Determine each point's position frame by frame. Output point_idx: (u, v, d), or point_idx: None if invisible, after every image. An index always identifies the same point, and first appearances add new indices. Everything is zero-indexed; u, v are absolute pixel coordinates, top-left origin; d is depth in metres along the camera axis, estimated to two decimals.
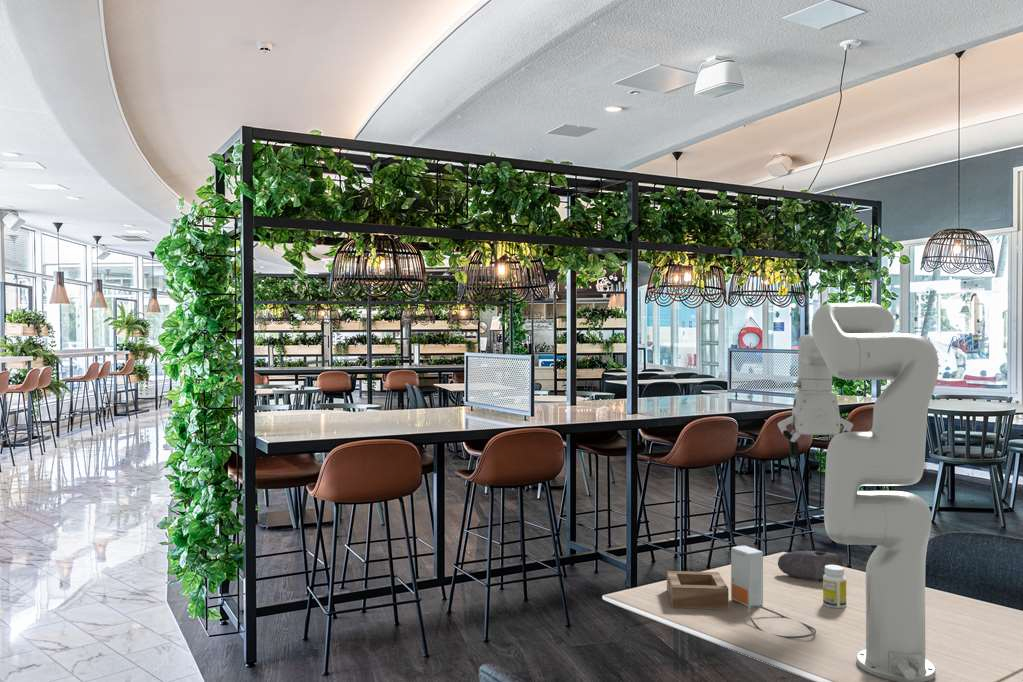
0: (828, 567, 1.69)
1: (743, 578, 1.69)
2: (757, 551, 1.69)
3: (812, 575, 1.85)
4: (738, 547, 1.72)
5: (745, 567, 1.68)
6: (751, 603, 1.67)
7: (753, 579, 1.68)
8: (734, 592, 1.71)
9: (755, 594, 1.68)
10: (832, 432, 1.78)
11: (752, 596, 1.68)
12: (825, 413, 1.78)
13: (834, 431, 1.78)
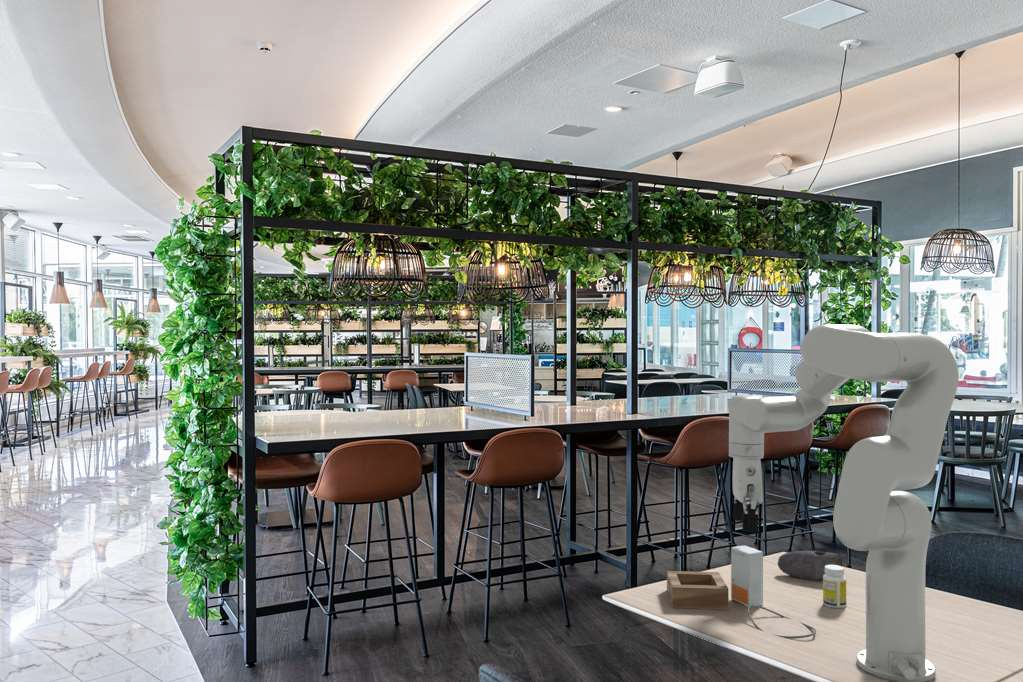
0: (828, 567, 1.69)
1: (743, 578, 1.69)
2: (757, 551, 1.69)
3: (812, 575, 1.85)
4: (738, 547, 1.72)
5: (745, 567, 1.68)
6: (751, 603, 1.67)
7: (753, 579, 1.68)
8: (734, 592, 1.71)
9: (755, 594, 1.68)
10: None
11: (752, 596, 1.68)
12: None
13: None
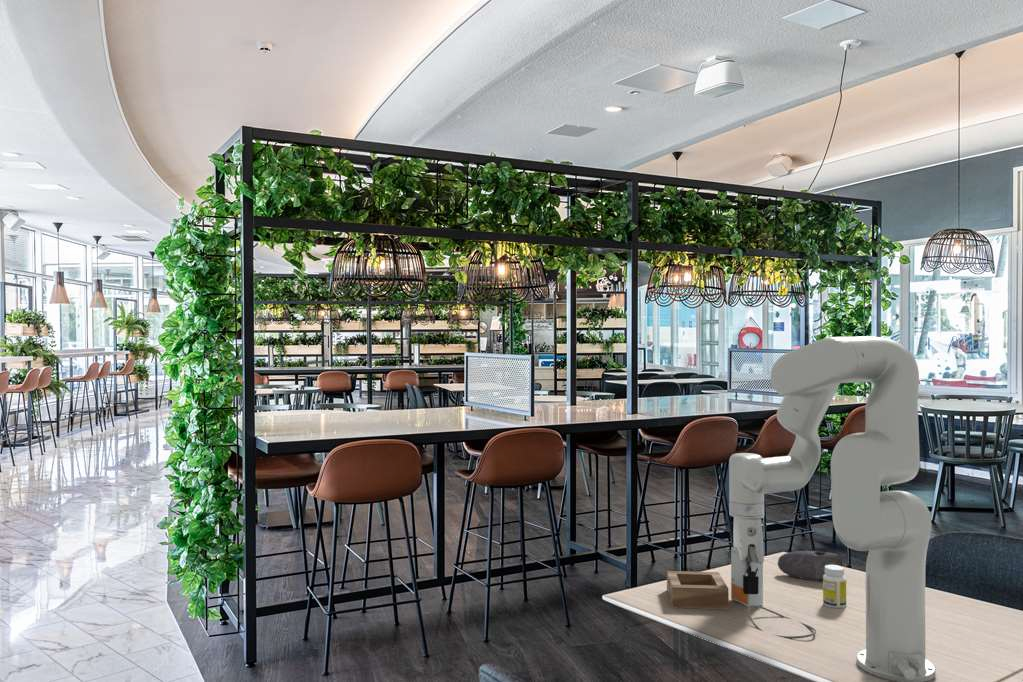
0: (828, 567, 1.69)
1: None
2: None
3: (812, 575, 1.85)
4: None
5: None
6: (751, 603, 1.67)
7: None
8: (734, 592, 1.71)
9: (754, 594, 1.68)
10: None
11: (752, 595, 1.68)
12: None
13: None
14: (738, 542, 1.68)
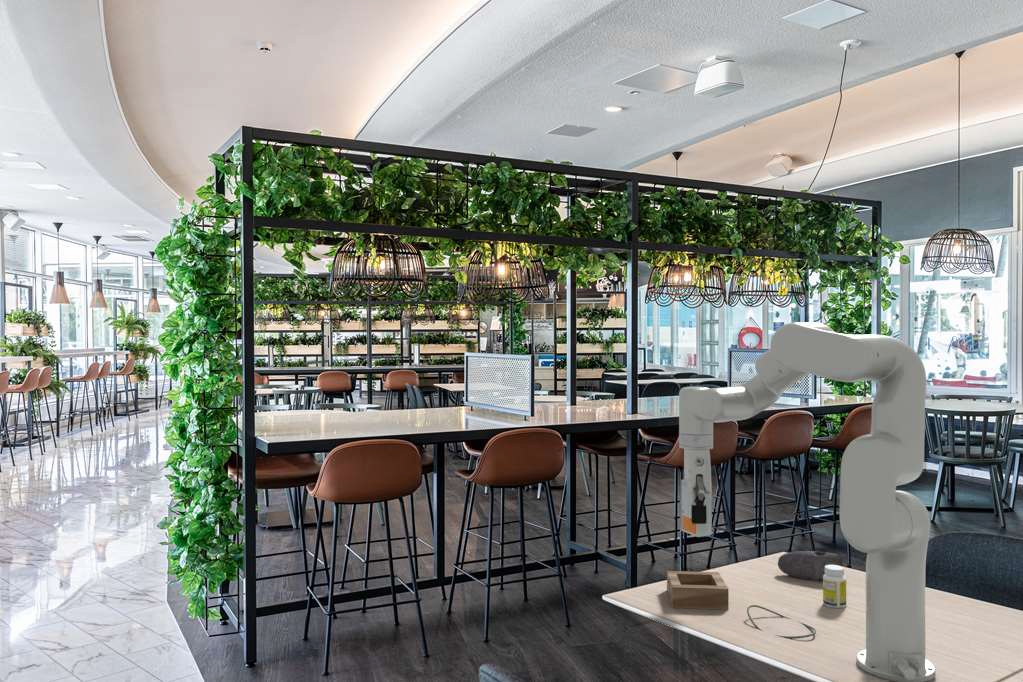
0: (828, 567, 1.69)
1: None
2: None
3: (812, 575, 1.85)
4: None
5: None
6: (699, 533, 1.69)
7: None
8: (684, 523, 1.73)
9: (703, 524, 1.70)
10: None
11: (700, 525, 1.70)
12: None
13: None
14: (687, 473, 1.70)
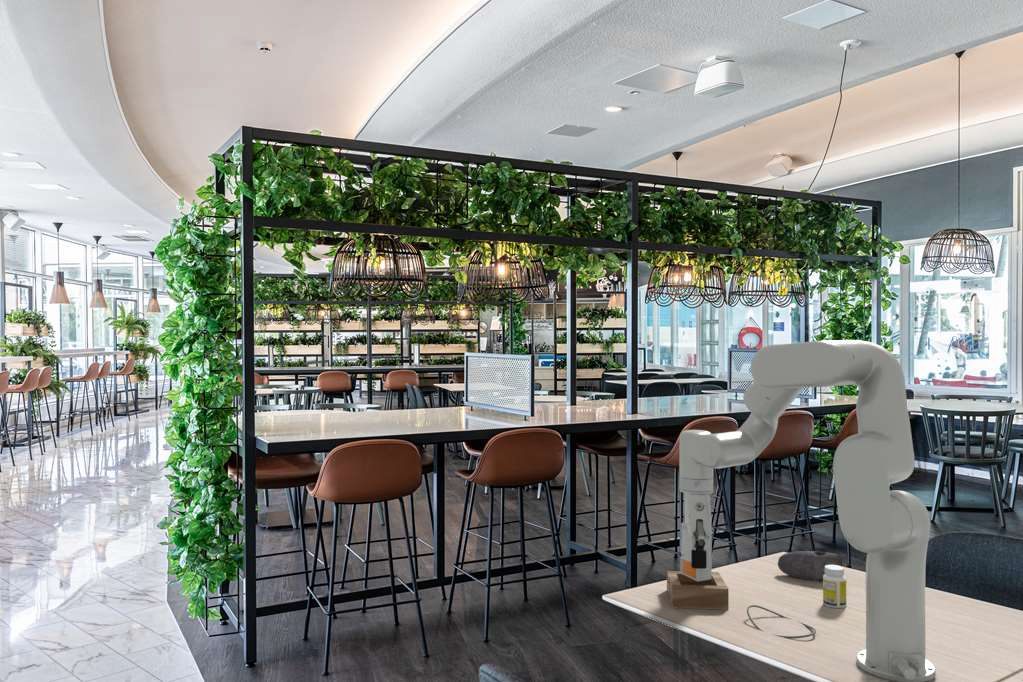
0: (828, 567, 1.69)
1: None
2: None
3: (812, 575, 1.85)
4: None
5: None
6: (699, 577, 1.70)
7: None
8: (684, 567, 1.73)
9: (703, 569, 1.70)
10: None
11: (700, 570, 1.70)
12: None
13: None
14: (687, 517, 1.70)
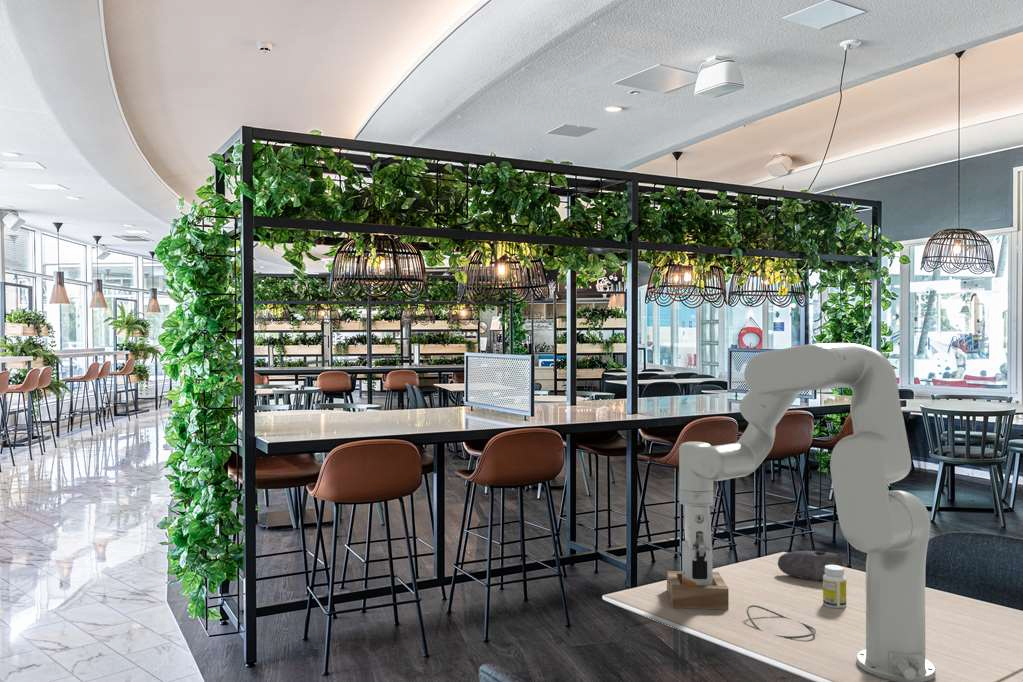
0: (828, 567, 1.69)
1: None
2: None
3: (812, 575, 1.85)
4: None
5: None
6: None
7: None
8: None
9: None
10: None
11: None
12: None
13: None
14: (687, 529, 1.70)
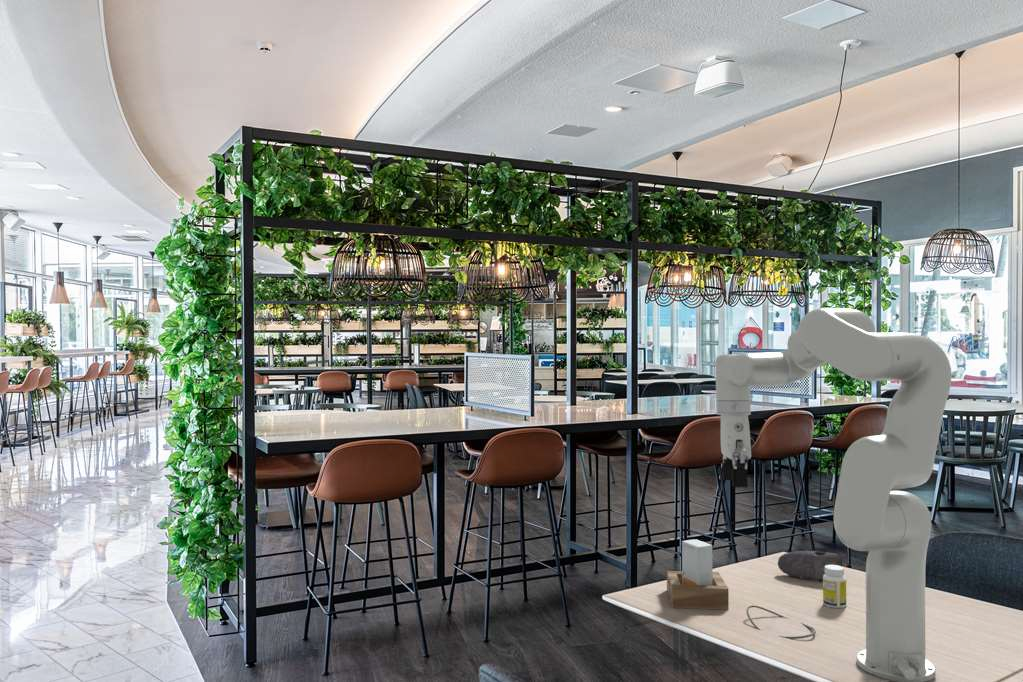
0: (828, 567, 1.69)
1: (692, 571, 1.70)
2: (707, 545, 1.70)
3: (812, 575, 1.85)
4: (689, 541, 1.74)
5: (694, 561, 1.70)
6: None
7: (702, 572, 1.69)
8: None
9: None
10: None
11: None
12: None
13: None
14: (726, 439, 1.71)
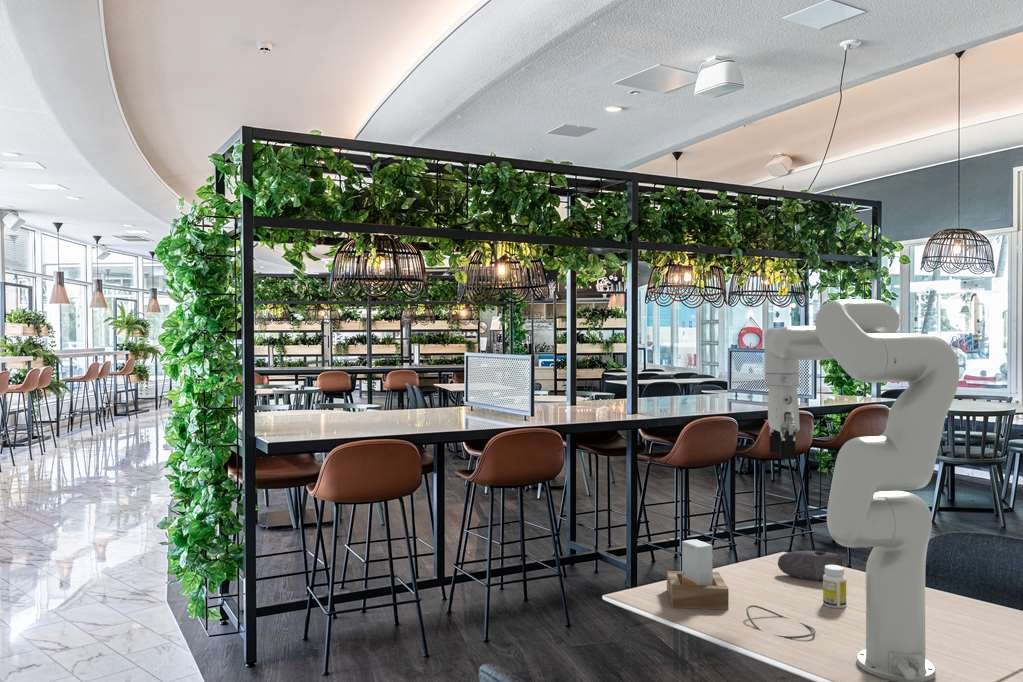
0: (828, 567, 1.69)
1: (692, 571, 1.70)
2: (707, 545, 1.70)
3: (812, 575, 1.85)
4: (689, 541, 1.74)
5: (694, 561, 1.70)
6: None
7: (702, 572, 1.69)
8: None
9: None
10: None
11: None
12: None
13: None
14: (774, 412, 1.72)
